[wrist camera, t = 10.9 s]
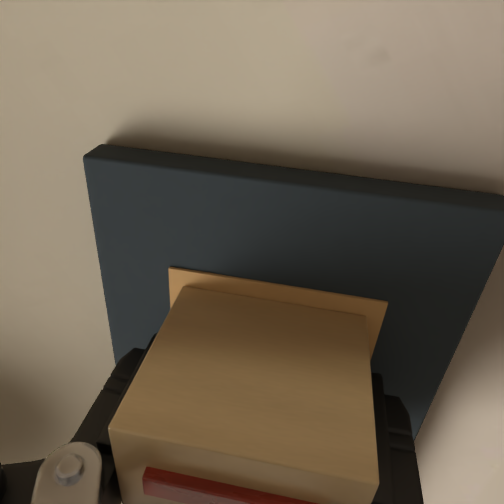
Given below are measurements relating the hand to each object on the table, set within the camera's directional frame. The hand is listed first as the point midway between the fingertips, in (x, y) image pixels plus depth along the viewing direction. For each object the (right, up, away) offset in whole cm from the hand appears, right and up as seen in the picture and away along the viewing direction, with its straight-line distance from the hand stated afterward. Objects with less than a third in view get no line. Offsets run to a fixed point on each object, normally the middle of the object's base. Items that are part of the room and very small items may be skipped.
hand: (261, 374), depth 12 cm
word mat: (0, -3, +4) cm, 4 cm away
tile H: (0, 0, 0) cm, 0 cm away
